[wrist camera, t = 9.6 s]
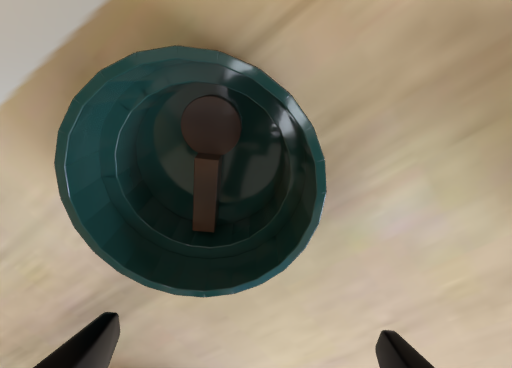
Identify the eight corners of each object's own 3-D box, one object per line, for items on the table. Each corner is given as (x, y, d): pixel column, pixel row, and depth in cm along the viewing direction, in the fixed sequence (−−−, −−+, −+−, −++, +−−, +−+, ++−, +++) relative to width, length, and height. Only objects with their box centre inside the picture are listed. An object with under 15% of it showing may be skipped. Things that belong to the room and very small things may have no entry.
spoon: (233, 218, 20) (231, 234, 18) (183, 213, 20) (175, 229, 18) (244, 98, 17) (243, 101, 15) (184, 91, 17) (175, 93, 15)
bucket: (206, 262, 22) (189, 329, 16) (81, 143, 19) (-3, 175, 13) (337, 171, 19) (375, 213, 13) (221, 8, 16) (200, -36, 10)
